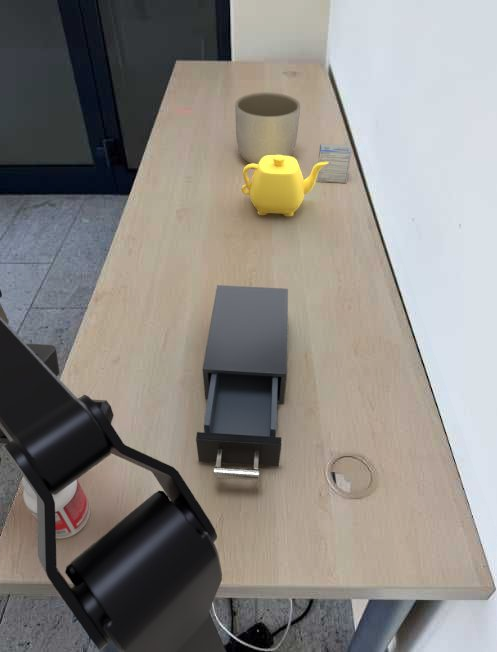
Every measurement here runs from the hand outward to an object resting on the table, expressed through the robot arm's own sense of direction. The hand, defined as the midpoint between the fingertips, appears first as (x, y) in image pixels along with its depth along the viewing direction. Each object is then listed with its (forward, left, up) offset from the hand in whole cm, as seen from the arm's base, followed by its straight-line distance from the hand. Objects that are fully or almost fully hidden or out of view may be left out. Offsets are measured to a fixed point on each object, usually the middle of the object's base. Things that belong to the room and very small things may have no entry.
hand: (38, 466), depth 55 cm
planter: (+105, -22, -13) cm, 108 cm away
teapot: (+80, -27, -13) cm, 85 cm away
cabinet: (+30, -22, -13) cm, 39 cm away
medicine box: (+95, -40, -13) cm, 104 cm away
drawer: (+16, -22, -12) cm, 30 cm away
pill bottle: (0, 0, -13) cm, 13 cm away
